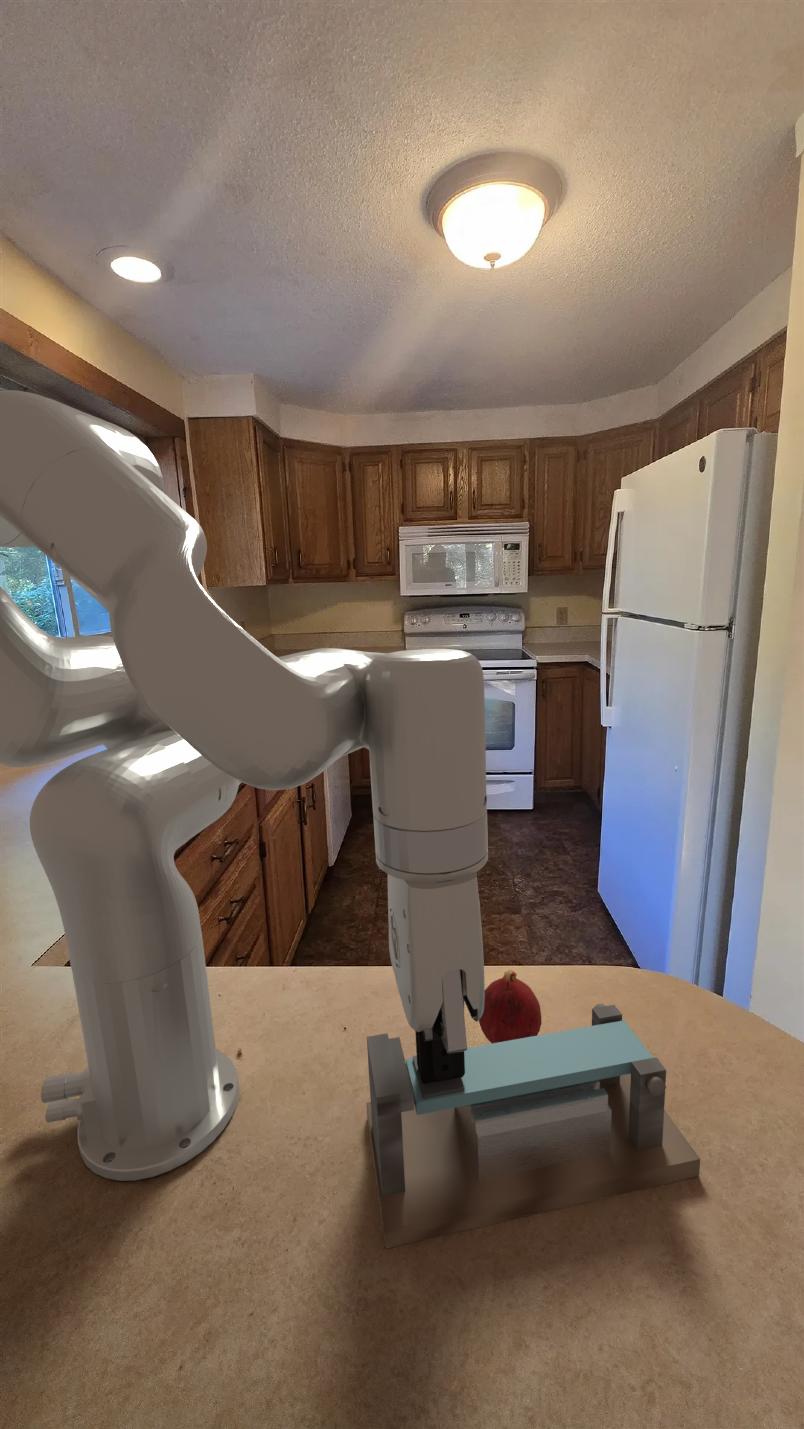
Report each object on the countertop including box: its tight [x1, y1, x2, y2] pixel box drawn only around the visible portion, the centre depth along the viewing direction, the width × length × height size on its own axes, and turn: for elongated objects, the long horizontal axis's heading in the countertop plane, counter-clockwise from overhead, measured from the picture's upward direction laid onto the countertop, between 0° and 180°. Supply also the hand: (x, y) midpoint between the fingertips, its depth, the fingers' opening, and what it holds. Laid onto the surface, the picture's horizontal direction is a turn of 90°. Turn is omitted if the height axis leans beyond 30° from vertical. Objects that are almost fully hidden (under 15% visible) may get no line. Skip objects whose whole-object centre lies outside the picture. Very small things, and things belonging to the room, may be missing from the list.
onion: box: [478, 969, 543, 1044], centre depth 54 cm, size 6×6×8 cm
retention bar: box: [405, 1019, 655, 1115], centre depth 44 cm, size 18×4×1 cm, turn 100°
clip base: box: [366, 1003, 701, 1249], centre depth 44 cm, size 23×10×10 cm, turn 100°
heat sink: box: [456, 1080, 611, 1181], centre depth 44 cm, size 10×6×4 cm, turn 100°
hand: (440, 1072), depth 42 cm, fingers closed
